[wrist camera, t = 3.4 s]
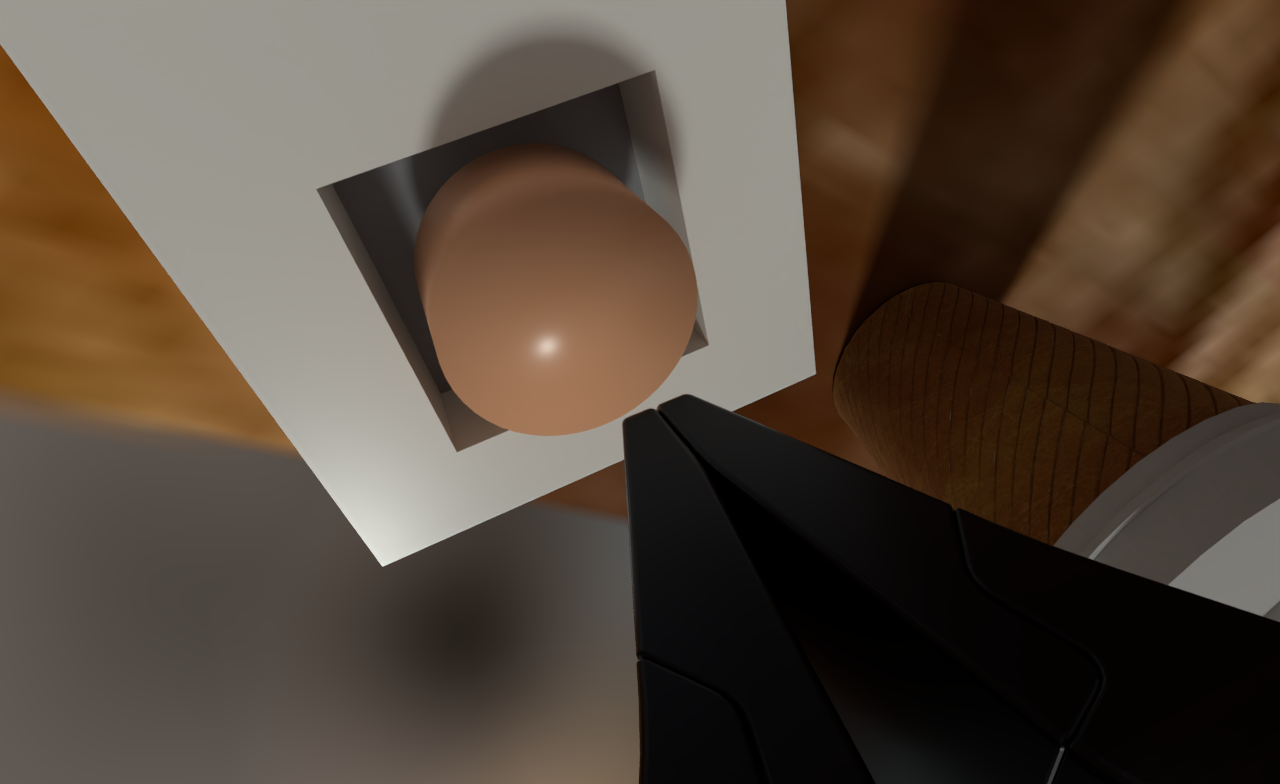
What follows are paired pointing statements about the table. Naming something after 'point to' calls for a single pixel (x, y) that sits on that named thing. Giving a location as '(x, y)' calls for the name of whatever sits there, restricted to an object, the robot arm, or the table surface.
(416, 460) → the button panel
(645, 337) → the terracotta button
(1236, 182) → the table surface
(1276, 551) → the disposable coffee cup
